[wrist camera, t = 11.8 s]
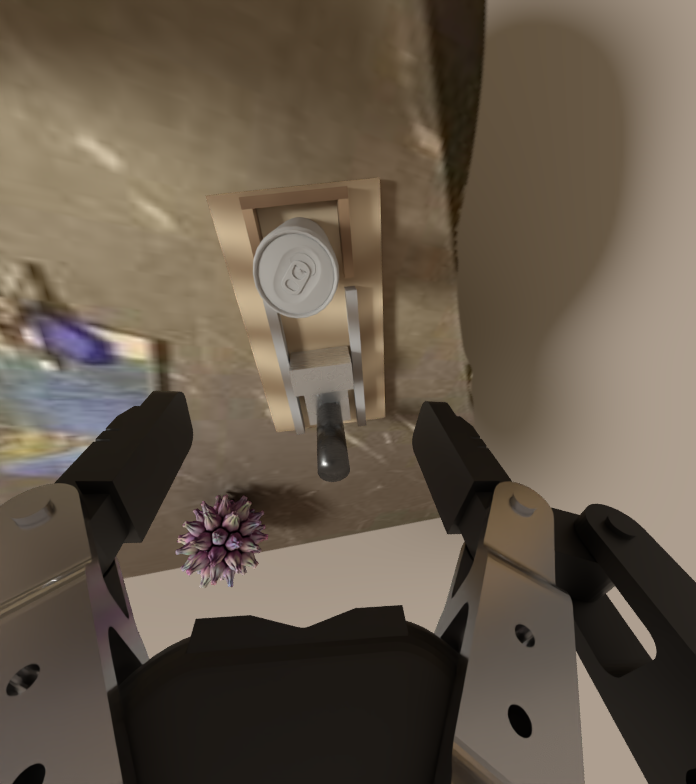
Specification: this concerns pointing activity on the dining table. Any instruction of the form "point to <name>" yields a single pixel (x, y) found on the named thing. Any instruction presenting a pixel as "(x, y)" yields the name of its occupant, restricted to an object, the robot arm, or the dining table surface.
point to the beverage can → (296, 269)
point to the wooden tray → (340, 317)
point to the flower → (222, 540)
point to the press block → (326, 403)
